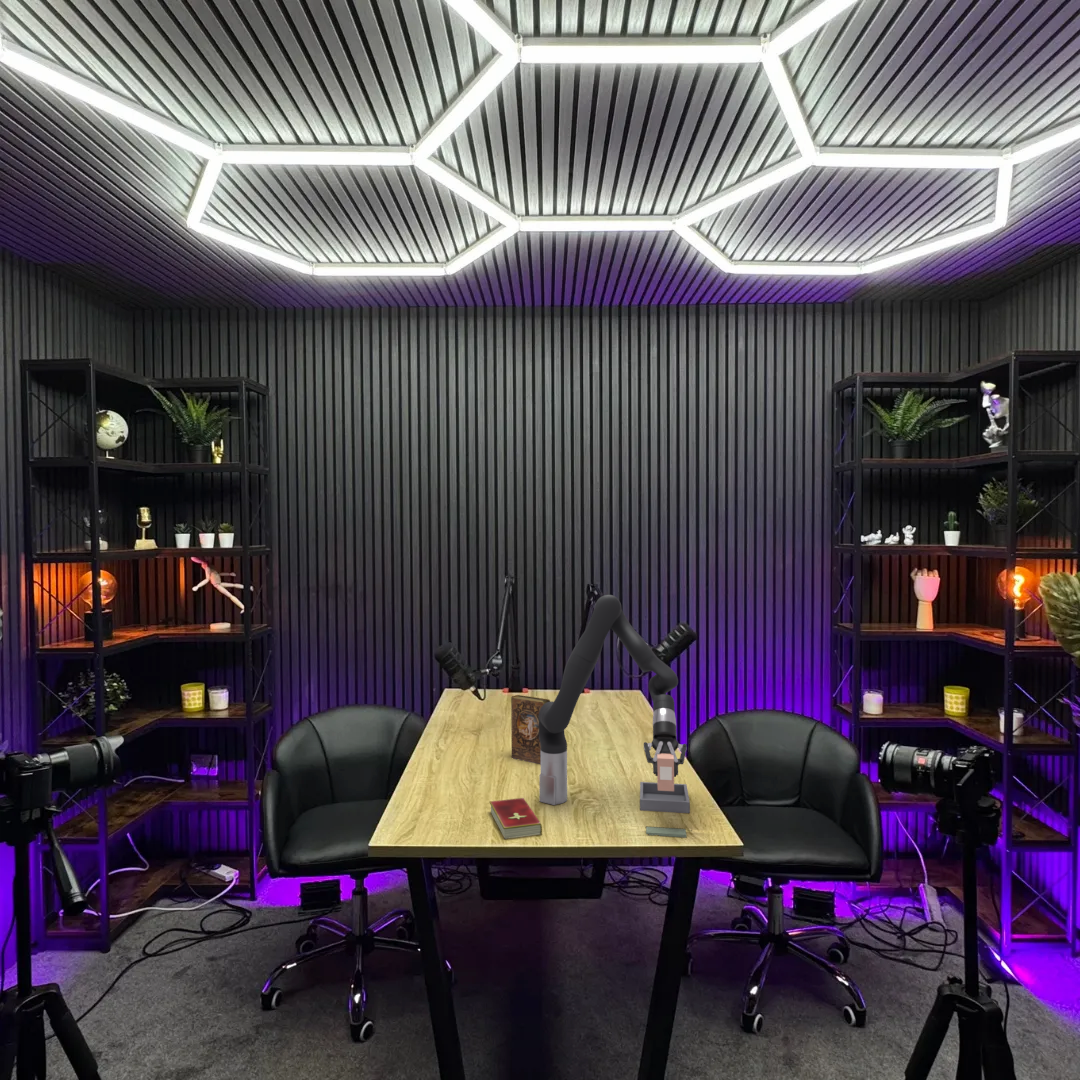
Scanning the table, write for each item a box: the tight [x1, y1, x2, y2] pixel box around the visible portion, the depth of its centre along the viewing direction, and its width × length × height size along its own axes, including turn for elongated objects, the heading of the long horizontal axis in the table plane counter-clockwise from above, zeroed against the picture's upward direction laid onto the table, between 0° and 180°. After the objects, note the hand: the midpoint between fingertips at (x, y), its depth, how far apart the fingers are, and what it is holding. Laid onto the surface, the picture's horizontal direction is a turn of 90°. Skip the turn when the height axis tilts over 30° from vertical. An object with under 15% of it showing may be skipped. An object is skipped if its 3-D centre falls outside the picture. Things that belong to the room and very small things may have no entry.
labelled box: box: [656, 753, 675, 791], centre depth 209 cm, size 5×5×10 cm
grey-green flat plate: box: [645, 826, 687, 839], centre depth 209 cm, size 12×12×1 cm
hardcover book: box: [489, 797, 543, 840], centre depth 213 cm, size 12×21×4 cm, turn 16°
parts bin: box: [639, 781, 691, 814], centre depth 227 cm, size 16×16×4 cm
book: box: [510, 694, 551, 765], centre depth 273 cm, size 16×6×25 cm, turn 59°
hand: (665, 775), depth 207 cm, fingers closed on labelled box, 5 cm apart
